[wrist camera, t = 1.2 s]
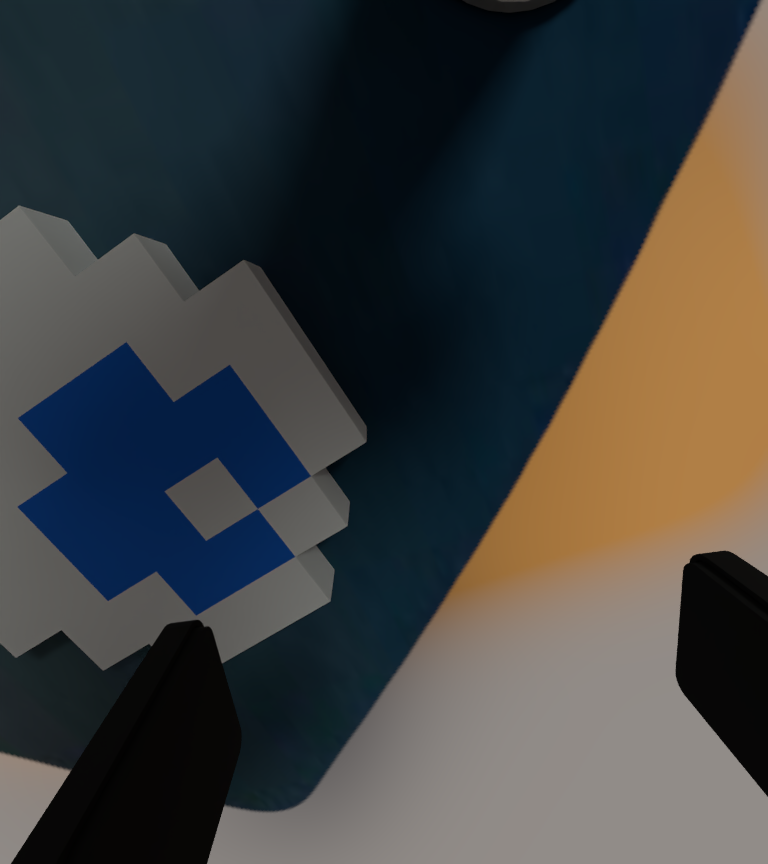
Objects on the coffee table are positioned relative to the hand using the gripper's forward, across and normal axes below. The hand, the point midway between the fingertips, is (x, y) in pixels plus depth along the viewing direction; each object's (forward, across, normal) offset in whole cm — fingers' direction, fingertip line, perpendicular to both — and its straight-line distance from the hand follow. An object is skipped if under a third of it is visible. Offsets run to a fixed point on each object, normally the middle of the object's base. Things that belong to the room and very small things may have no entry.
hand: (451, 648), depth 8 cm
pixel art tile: (+22, +17, +1) cm, 28 cm away
